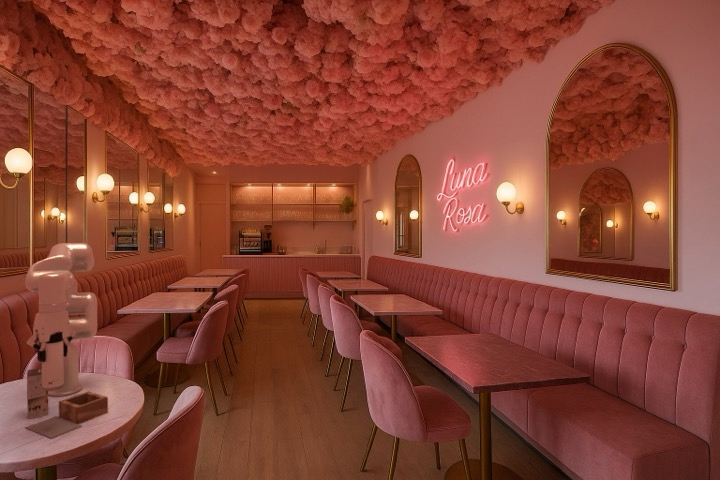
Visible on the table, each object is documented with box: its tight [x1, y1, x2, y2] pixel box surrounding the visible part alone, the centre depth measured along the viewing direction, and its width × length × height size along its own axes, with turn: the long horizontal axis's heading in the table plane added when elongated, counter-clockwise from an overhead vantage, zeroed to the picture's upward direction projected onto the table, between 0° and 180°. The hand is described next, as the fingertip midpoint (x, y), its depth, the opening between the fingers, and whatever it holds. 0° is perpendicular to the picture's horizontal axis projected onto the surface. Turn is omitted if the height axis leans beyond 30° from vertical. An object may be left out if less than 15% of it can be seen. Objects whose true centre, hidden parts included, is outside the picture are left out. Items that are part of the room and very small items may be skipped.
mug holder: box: [58, 391, 109, 425], centre depth 162 cm, size 12×11×6 cm
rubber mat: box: [25, 415, 83, 440], centre depth 152 cm, size 16×10×1 cm, turn 64°
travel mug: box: [41, 332, 64, 391], centre depth 151 cm, size 6×7×20 cm
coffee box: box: [26, 367, 49, 419], centre depth 163 cm, size 9×6×16 cm
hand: (52, 358), depth 151 cm, fingers closed on travel mug, 6 cm apart
